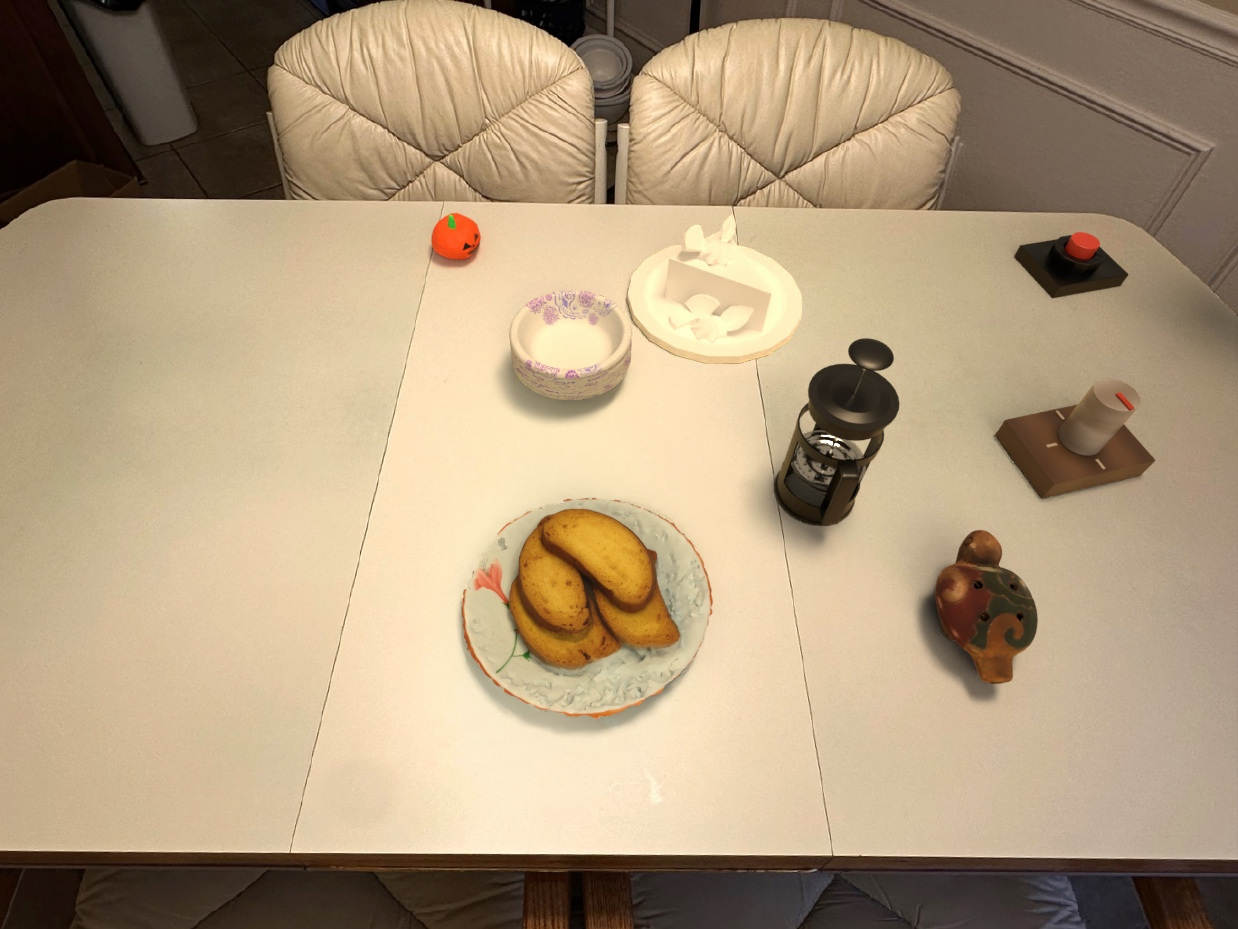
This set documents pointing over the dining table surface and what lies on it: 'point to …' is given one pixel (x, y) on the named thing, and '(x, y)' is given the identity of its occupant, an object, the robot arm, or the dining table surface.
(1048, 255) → the button housing
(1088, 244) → the push knob
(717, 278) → the dish
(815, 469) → the french press
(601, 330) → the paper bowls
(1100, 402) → the dial
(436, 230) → the pumpkin
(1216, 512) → the dining table surface
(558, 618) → the food on plate
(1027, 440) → the dial panel
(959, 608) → the painted clay ocarina
